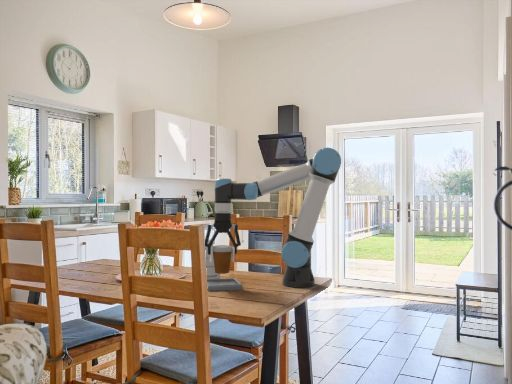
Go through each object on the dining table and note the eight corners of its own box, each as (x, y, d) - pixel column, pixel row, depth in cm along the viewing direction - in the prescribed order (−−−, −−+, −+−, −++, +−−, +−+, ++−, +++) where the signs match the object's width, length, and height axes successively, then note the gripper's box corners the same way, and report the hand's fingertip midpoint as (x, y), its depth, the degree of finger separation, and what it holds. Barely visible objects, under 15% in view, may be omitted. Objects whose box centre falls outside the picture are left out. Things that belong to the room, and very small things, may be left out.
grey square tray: (235, 283, 209) (235, 278, 209) (241, 289, 195) (241, 284, 195) (203, 284, 206) (203, 279, 206) (208, 291, 191) (208, 285, 191)
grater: (199, 282, 210) (199, 240, 211) (196, 278, 220) (196, 238, 221) (220, 281, 213) (220, 240, 213) (216, 277, 223) (217, 238, 223)
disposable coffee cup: (227, 275, 194) (228, 247, 194) (208, 273, 197) (208, 247, 197) (235, 271, 203) (235, 245, 203) (216, 270, 206) (216, 244, 206)
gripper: (244, 212, 207) (244, 259, 207) (197, 212, 202) (196, 260, 201) (248, 212, 200) (247, 262, 199) (199, 212, 194) (198, 263, 194)
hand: (222, 261), depth 200 cm, fingers closed on disposable coffee cup, 9 cm apart
